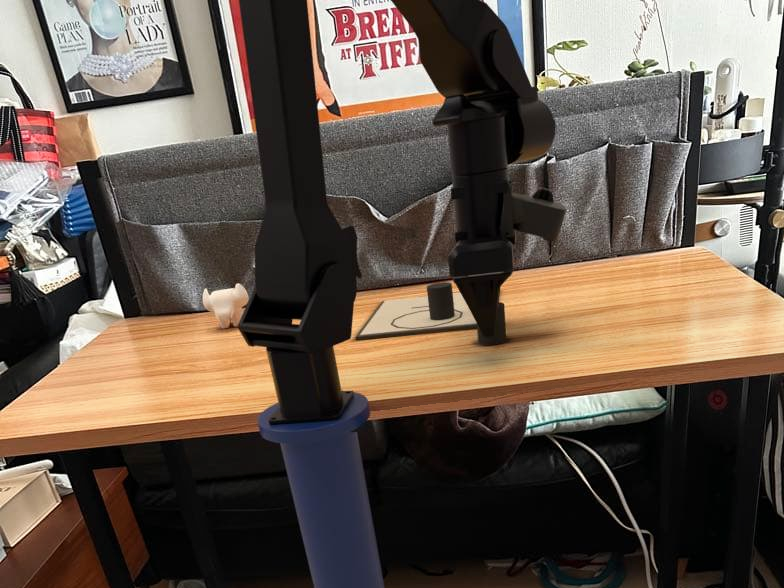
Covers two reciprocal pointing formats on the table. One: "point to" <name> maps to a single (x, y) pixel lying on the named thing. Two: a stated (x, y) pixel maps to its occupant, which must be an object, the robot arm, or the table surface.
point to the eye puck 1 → (440, 301)
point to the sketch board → (414, 318)
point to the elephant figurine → (226, 304)
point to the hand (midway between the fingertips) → (491, 325)
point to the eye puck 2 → (499, 329)
